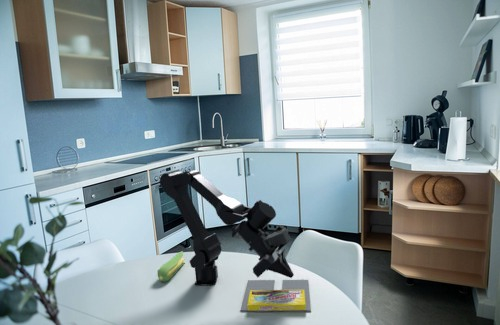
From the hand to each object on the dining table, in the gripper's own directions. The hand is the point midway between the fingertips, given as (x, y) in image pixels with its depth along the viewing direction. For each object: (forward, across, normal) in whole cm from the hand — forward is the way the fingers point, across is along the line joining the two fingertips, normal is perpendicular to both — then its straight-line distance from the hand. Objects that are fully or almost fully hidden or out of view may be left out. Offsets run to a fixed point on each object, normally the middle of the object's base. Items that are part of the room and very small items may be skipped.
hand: (292, 276), depth 107 cm
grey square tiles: (+1, 0, +8) cm, 8 cm away
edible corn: (-27, +7, +37) cm, 47 cm away
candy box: (0, -1, +7) cm, 7 cm away
